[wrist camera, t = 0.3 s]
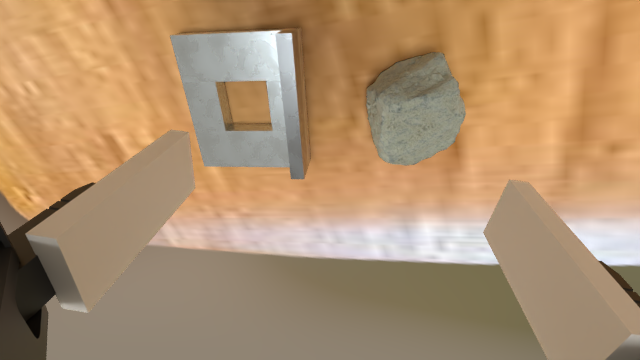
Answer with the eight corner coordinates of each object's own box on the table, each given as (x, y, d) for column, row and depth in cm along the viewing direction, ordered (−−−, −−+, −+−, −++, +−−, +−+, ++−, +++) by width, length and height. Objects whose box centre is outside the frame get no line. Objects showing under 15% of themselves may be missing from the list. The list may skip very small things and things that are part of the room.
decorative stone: (377, 26, 34) (341, 94, 30) (488, 35, 29) (463, 115, 26) (383, 110, 44) (357, 167, 41) (464, 125, 40) (444, 191, 36)
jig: (181, 33, 36) (154, 38, 31) (301, 27, 34) (291, 33, 30) (212, 157, 44) (194, 177, 40) (310, 158, 43) (304, 179, 38)
